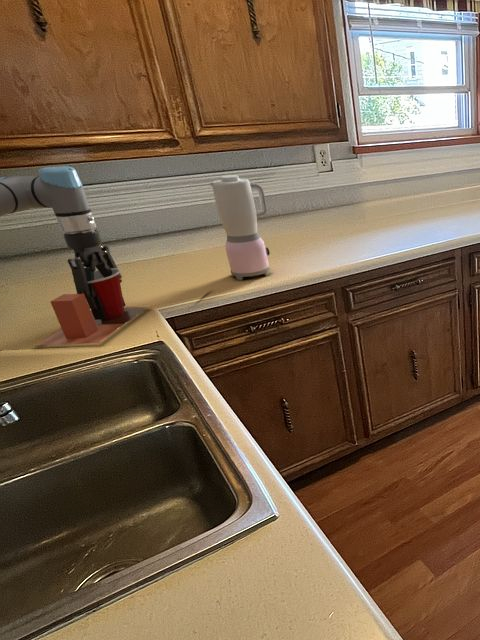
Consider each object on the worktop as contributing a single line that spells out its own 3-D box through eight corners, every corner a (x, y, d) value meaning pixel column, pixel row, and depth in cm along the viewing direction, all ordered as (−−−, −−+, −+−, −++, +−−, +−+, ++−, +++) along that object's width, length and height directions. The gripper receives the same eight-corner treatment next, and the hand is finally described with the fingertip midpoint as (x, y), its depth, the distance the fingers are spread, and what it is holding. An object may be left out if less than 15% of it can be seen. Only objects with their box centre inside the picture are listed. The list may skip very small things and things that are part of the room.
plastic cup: (93, 311, 146) (77, 270, 140) (136, 305, 150) (123, 265, 144) (84, 325, 137) (67, 282, 132) (131, 319, 141) (116, 276, 135)
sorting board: (36, 348, 127) (35, 345, 127) (94, 311, 148) (93, 309, 148) (99, 345, 128) (98, 342, 127) (148, 309, 149) (147, 307, 149)
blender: (237, 282, 169) (213, 180, 154) (227, 274, 178) (202, 176, 163) (285, 273, 178) (266, 175, 163) (273, 265, 186) (253, 171, 172)
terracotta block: (65, 338, 130) (50, 301, 125) (78, 330, 134) (63, 294, 130) (86, 337, 130) (71, 300, 126) (98, 329, 135) (84, 293, 130)
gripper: (68, 240, 123) (102, 327, 134) (118, 221, 142) (144, 298, 153) (36, 242, 123) (72, 328, 133) (90, 221, 142) (118, 299, 152)
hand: (110, 312), depth 143 cm, fingers closed on plastic cup, 9 cm apart
